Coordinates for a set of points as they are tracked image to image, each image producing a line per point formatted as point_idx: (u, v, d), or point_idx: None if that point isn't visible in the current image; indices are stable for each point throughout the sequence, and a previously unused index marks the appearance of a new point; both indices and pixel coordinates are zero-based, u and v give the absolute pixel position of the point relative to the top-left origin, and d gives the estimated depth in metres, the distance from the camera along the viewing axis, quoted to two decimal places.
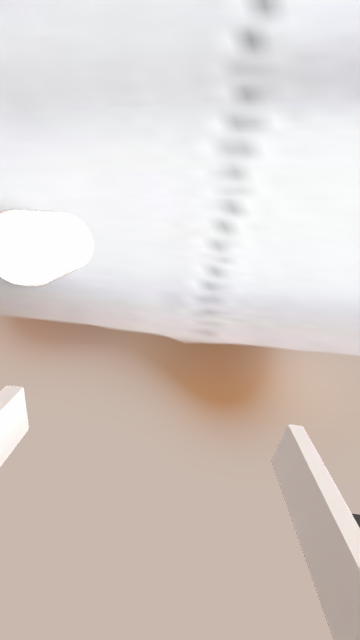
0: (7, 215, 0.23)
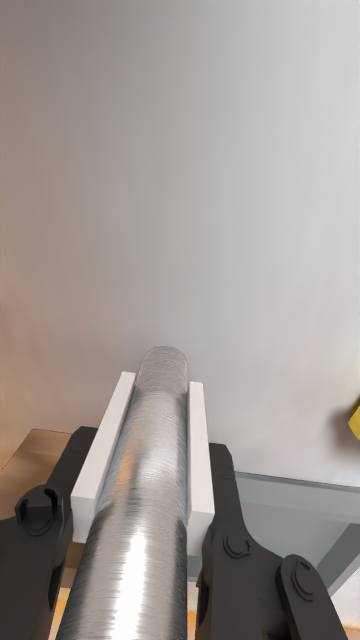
0: None
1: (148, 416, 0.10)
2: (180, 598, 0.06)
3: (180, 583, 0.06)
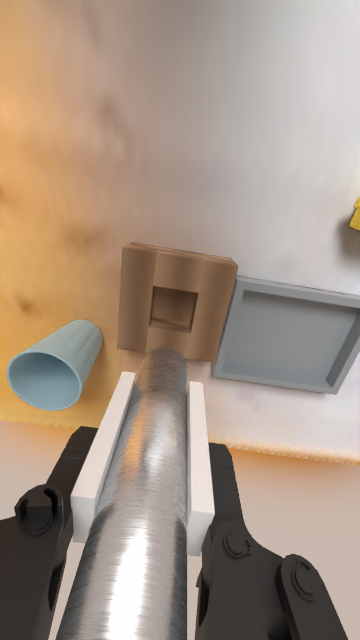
0: None
1: (148, 417, 0.10)
2: (180, 600, 0.06)
3: (180, 585, 0.06)
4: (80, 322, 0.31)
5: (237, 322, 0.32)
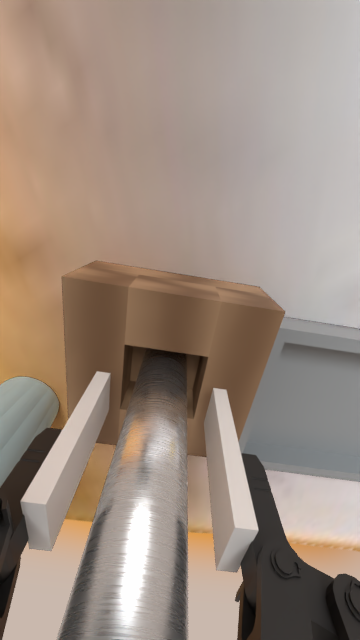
0: None
1: (151, 401, 0.11)
2: (181, 549, 0.07)
3: (181, 537, 0.07)
4: (17, 385, 0.20)
5: None
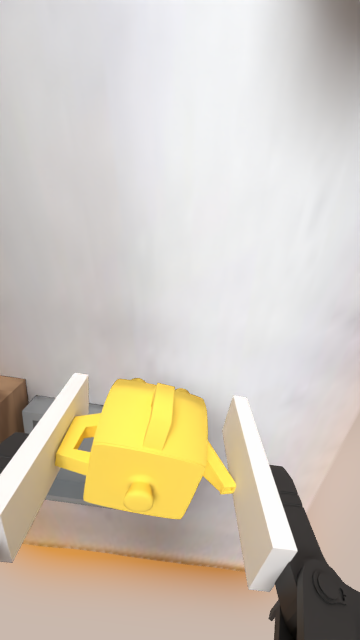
0: None
1: None
2: None
3: None
4: None
5: None
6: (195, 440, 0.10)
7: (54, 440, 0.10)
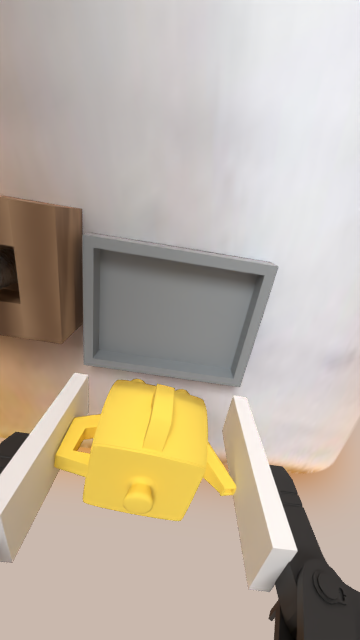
0: None
1: None
2: None
3: None
4: None
5: (107, 295, 0.25)
6: (195, 441, 0.10)
7: (54, 440, 0.10)
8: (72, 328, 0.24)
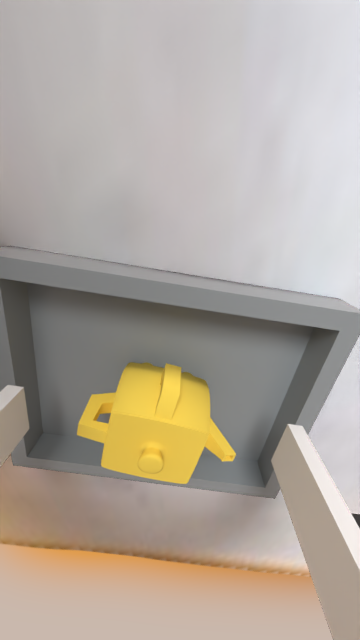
0: None
1: None
2: None
3: None
4: None
5: (48, 353, 0.14)
6: (199, 413, 0.11)
7: None
8: None
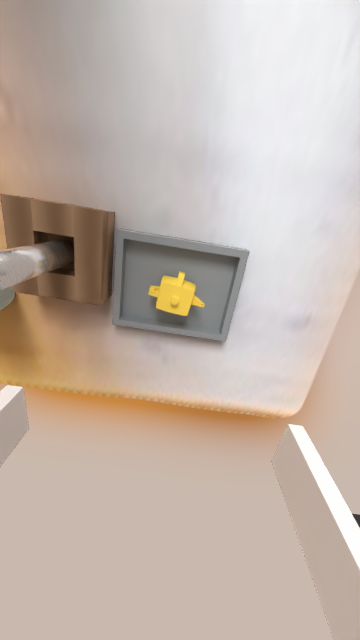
0: None
1: (36, 244, 0.27)
2: (23, 260, 0.22)
3: (25, 259, 0.22)
4: None
5: (130, 273, 0.35)
6: (191, 287, 0.32)
7: None
8: (106, 296, 0.35)
